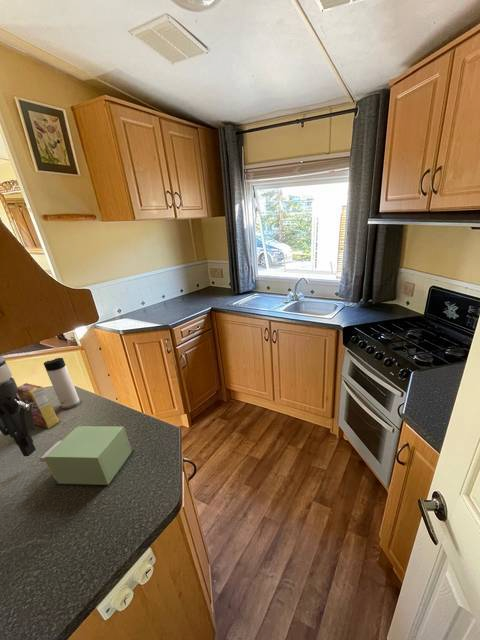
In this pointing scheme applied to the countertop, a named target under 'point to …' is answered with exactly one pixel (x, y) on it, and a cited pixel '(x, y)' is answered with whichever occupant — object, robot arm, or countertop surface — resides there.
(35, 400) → the candy box
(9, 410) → the robot arm
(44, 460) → the drawer
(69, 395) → the travel mug
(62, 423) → the countertop surface
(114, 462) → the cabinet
